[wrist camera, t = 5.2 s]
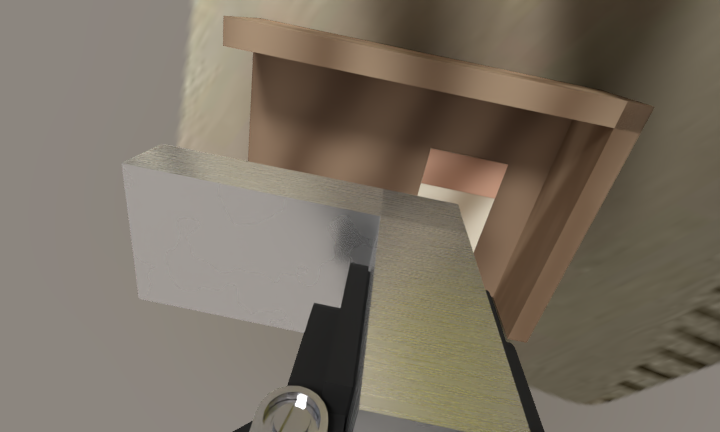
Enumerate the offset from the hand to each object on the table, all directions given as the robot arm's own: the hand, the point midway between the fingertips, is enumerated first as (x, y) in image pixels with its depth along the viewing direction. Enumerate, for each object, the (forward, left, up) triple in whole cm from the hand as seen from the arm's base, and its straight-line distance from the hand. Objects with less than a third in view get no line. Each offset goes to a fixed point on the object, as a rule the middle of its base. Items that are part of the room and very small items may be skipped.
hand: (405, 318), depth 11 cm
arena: (-1, +3, -20) cm, 20 cm away
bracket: (+4, 0, -3) cm, 5 cm away
